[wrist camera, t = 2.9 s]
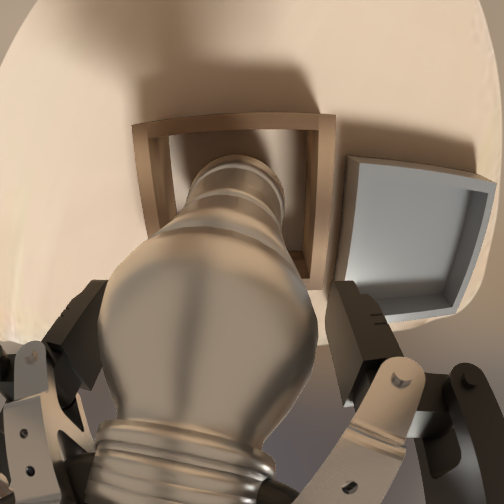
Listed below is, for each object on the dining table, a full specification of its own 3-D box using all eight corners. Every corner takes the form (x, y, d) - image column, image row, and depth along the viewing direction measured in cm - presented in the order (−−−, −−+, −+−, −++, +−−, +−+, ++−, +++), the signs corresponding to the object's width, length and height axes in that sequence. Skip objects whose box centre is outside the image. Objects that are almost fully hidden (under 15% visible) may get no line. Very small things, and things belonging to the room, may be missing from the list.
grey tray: (346, 155, 19) (359, 163, 16) (476, 173, 18) (496, 183, 16) (328, 306, 25) (335, 327, 23) (443, 296, 25) (455, 313, 22)
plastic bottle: (196, 231, 22) (94, 505, 4) (197, 146, 19) (-62, 396, 1) (276, 237, 22) (302, 535, 5) (286, 152, 19) (448, 497, 1)
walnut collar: (154, 121, 18) (131, 125, 14) (320, 114, 17) (335, 114, 14) (173, 263, 23) (160, 290, 20) (313, 261, 23) (322, 289, 20)
